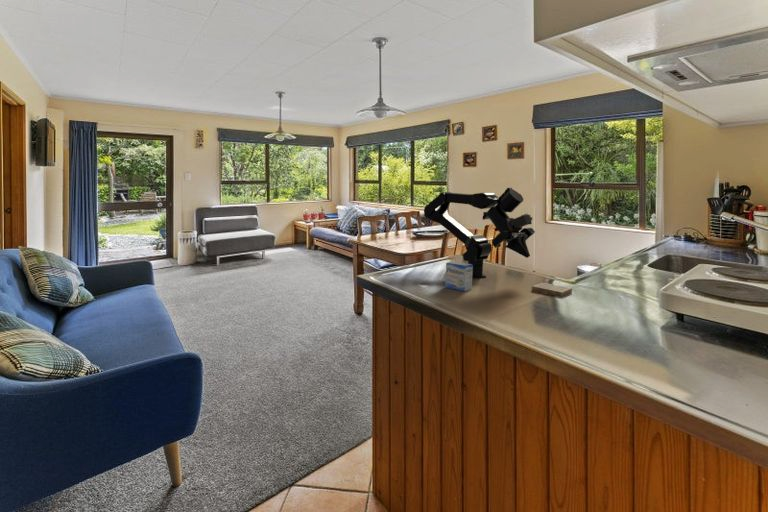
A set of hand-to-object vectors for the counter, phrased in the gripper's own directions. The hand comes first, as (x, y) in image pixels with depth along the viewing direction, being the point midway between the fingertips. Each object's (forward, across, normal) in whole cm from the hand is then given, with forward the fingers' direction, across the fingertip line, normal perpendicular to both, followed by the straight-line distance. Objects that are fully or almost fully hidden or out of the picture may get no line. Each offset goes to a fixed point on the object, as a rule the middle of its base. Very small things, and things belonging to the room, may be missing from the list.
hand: (528, 256), depth 137 cm
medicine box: (-2, -19, +18) cm, 26 cm away
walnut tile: (+10, 0, +4) cm, 10 cm away
